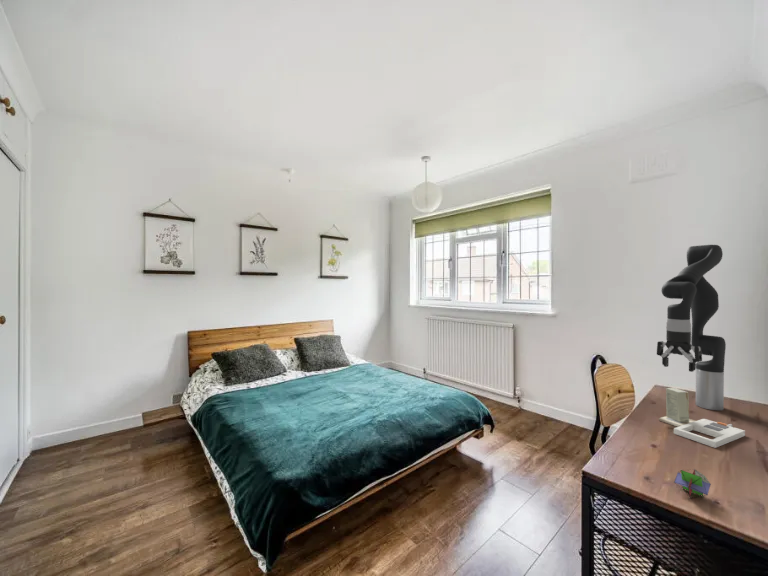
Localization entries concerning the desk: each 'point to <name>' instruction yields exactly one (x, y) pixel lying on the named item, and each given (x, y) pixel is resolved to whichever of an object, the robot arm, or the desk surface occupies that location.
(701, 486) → the geometric puzzle
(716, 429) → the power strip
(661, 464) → the desk surface
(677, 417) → the skincare box
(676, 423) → the cream flat rectangular plate
